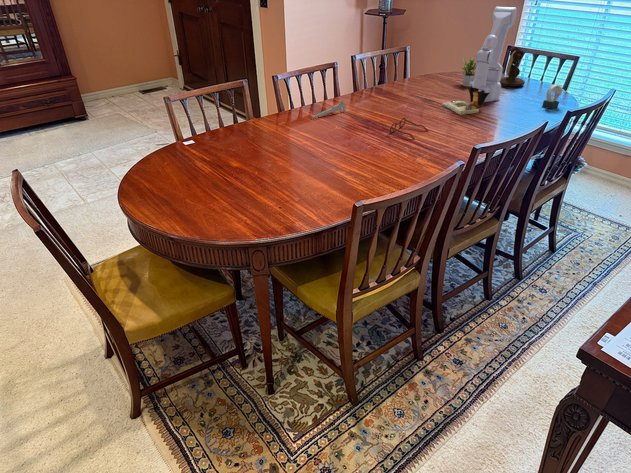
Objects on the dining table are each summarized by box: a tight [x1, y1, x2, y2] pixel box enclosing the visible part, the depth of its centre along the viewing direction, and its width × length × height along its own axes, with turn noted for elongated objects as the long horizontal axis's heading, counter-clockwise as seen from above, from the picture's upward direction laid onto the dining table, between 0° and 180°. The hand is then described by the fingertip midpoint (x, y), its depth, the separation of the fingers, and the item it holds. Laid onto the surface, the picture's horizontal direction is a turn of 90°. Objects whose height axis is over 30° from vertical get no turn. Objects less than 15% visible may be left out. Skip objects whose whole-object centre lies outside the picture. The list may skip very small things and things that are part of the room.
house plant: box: [460, 56, 477, 88], centre depth 251 cm, size 14×14×16 cm
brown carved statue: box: [499, 47, 526, 88], centre depth 248 cm, size 15×15×20 cm
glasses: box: [389, 117, 429, 141], centre depth 195 cm, size 13×13×5 cm
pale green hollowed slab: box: [441, 100, 480, 116], centre depth 221 cm, size 10×18×3 cm, turn 15°
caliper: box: [311, 100, 346, 120], centre depth 219 cm, size 20×1×6 cm, turn 119°
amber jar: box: [471, 90, 481, 109], centre depth 221 cm, size 5×5×7 cm
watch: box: [541, 84, 564, 110], centre depth 215 cm, size 6×8×11 cm
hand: (476, 103), depth 222 cm, fingers open, 6 cm apart
